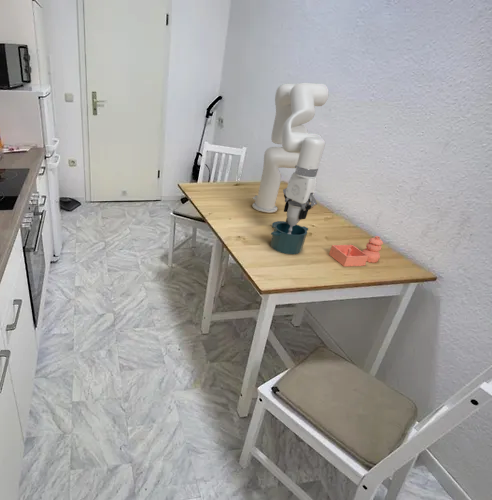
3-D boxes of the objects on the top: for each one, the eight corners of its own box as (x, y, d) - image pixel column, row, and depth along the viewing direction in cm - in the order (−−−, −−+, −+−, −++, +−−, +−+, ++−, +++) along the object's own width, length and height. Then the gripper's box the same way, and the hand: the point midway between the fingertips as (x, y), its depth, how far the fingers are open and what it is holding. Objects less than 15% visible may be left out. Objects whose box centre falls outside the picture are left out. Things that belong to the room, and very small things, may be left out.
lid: (265, 225, 169) (268, 214, 167) (286, 221, 174) (289, 211, 172) (286, 237, 159) (289, 225, 156) (308, 233, 164) (311, 221, 161)
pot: (259, 243, 152) (263, 225, 148) (290, 237, 159) (295, 220, 155) (280, 257, 142) (285, 238, 138) (312, 250, 149) (318, 231, 145)
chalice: (275, 240, 153) (285, 200, 144) (290, 240, 153) (301, 200, 145) (282, 248, 146) (293, 207, 138) (298, 248, 147) (310, 207, 138)
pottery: (343, 266, 138) (352, 243, 134) (328, 254, 146) (336, 232, 142) (384, 264, 141) (394, 242, 137) (368, 252, 149) (376, 231, 145)
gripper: (281, 166, 141) (271, 208, 149) (317, 179, 127) (304, 225, 135) (296, 164, 143) (285, 206, 152) (332, 177, 130) (318, 222, 138)
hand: (294, 214), depth 143 cm, fingers closed on chalice, 7 cm apart
